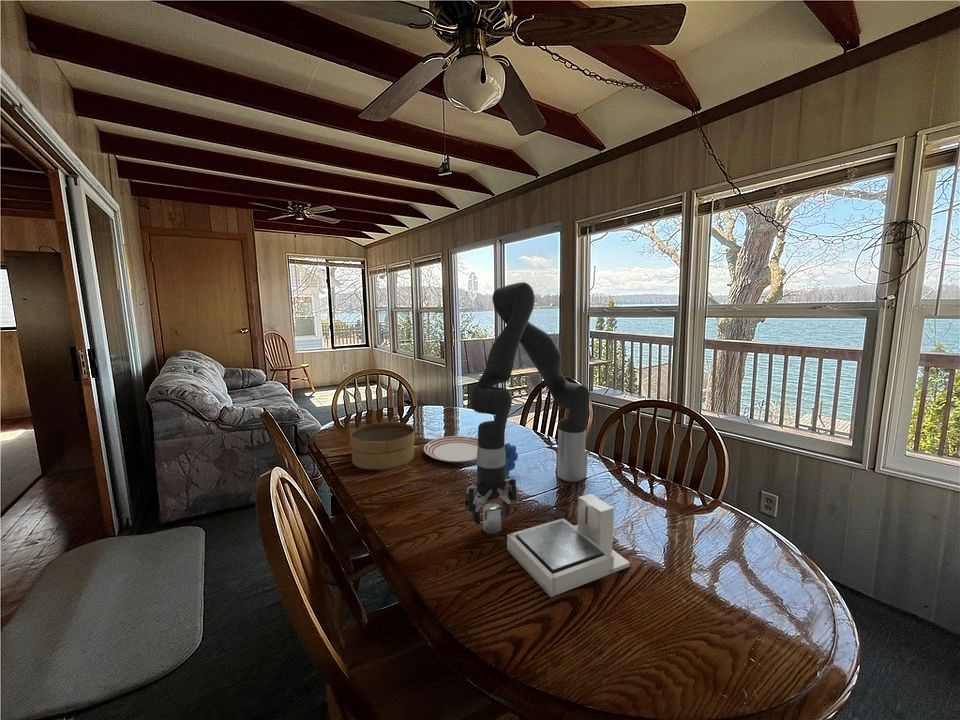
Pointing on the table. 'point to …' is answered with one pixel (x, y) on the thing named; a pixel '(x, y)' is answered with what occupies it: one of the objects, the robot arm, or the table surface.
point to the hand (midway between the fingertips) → (491, 519)
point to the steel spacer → (491, 518)
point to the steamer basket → (382, 445)
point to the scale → (594, 528)
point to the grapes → (510, 458)
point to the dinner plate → (453, 449)
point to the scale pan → (558, 546)
